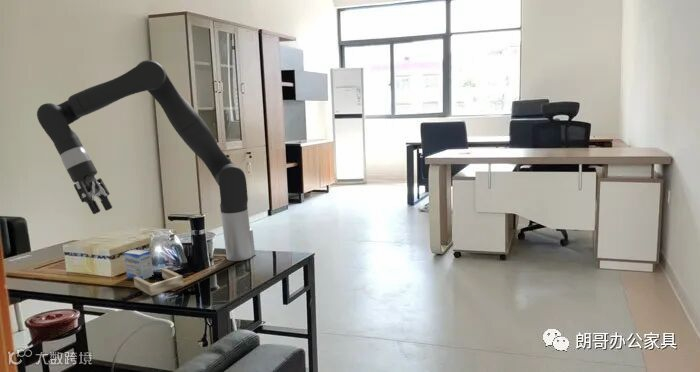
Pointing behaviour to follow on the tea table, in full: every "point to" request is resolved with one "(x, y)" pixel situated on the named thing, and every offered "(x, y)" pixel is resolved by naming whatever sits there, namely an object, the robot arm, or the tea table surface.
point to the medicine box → (138, 264)
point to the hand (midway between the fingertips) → (103, 211)
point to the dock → (160, 283)
